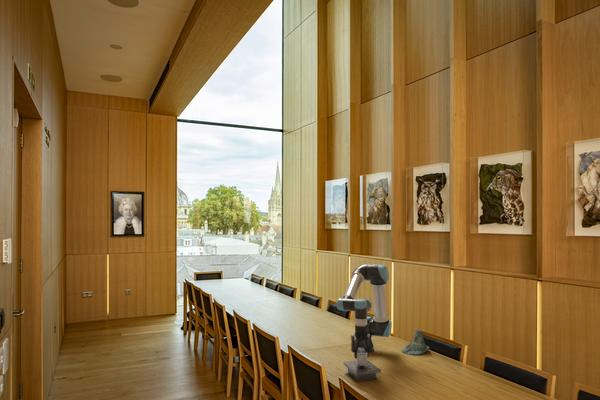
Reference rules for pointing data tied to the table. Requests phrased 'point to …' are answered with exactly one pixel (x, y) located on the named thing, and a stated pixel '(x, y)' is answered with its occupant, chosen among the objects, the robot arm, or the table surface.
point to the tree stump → (416, 345)
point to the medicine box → (362, 356)
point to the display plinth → (363, 377)
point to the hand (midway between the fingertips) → (361, 362)
